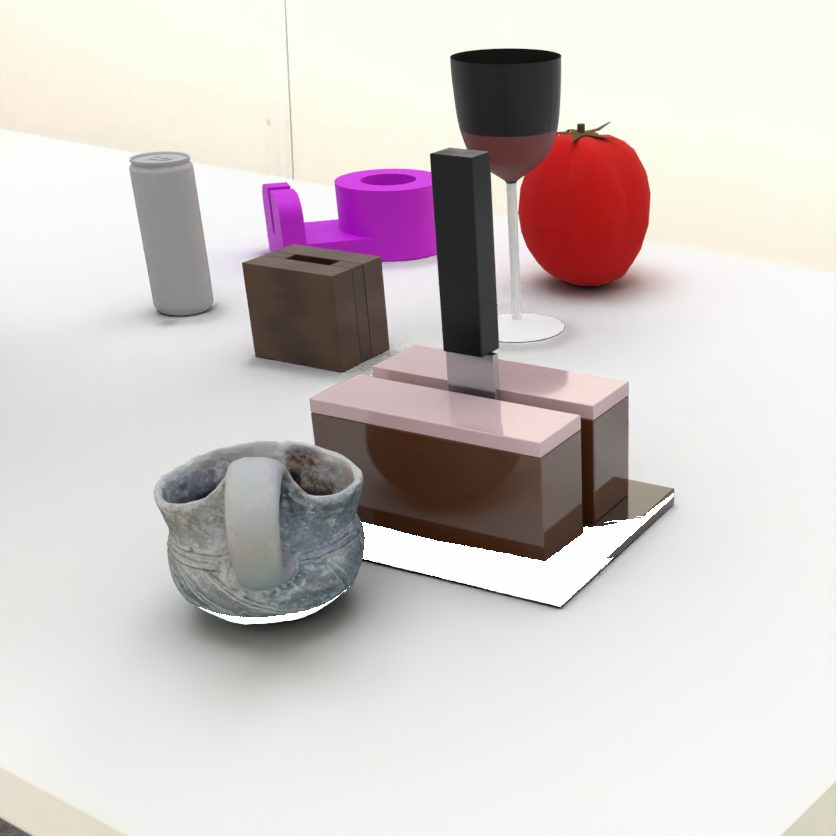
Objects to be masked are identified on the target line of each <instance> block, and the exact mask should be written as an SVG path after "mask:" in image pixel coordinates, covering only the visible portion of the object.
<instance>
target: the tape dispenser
mask: <svg viewBox="0 0 836 836" xmlns="http://www.w3.org/2000/svg"><path fill="white" fill-rule="evenodd" d="M261 186H262V187H261V194H262V205H263V212H264V219H265V226H266V232H267V241H268V249H269V250H270V251H271V252H274V251H276V250H279V249H282V248H284V247H287V246H290V245H293V244H297V245H304V246H311V247H318V248H325V249H332V250H339V251H346V252H353V253H360V254H367V255H374V256H381V259H382V262H400V261H411V260H417V259H418V260H419V259H424V258H427V257H432V256H435V255H437V250H436V235H435V221H434V207H433V193H432V178H431V171H428V170H423V169H415V168H414V169H413V168H375V169H365V170H358V171H353V172H347V173H345V174H342V175H339V176H337V177H336V178H335V179H334V191H335V200H336V210H337V219H326V220H317V221H316V220H315V221H314V220H313V221H305V218H304V211H303V207H302V202H301V200H300V196H299V194H298V192H297V191H296V190H295V188H292V187H291V185H290V184H289V183H288V182H287V181H283V182H271V183H263V184H262V185H261Z"/></svg>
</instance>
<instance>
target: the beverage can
mask: <svg viewBox="0 0 836 836" xmlns="http://www.w3.org/2000/svg"><path fill="white" fill-rule="evenodd" d="M129 163H130V164H129V167H128V168H129V170H128V171H129V176H130V182H131V188H132V193H133V198H134V203H135V209H136V215H137V220H138V225H139V231H140V237H141V242H142V248H143V254H144V259H145V265H146V270H147V271H146V272H147V276H148V281H149V287H150V292H151V299H152V303H153V306H154V307H155V308H156V309H157V310H158V311H159V312H160V313H161V314H164V315H168V316H176V317H177V316H178V317H179V316H181V317H182V316H192V315H197V314H201V313H204V312H206V311H208V310H210V309H211V307H212V305H213V303H214V301H215V299H214V292H213V286H212V278H211V272H210V264H209V258H208V252H207V246H206V240H205V232H204V226H203V221H202V220H203V219H202V213H201V207H200V200H199V194H198V189H197V188H198V187H197V182H196V175H195V169H194V168H195V167H194V164H193V162H191V155H190V154H189V153H188V152H181V151H167V150H166V151H165V150H164V151H150V152H143V153H138V154H134V155H131V156H130V157H129Z"/></svg>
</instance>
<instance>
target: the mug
mask: <svg viewBox="0 0 836 836" xmlns="http://www.w3.org/2000/svg"><path fill="white" fill-rule="evenodd" d="M362 485H363V474H362V471H361V470H360V469H359V468H358V467H357V466H356V465H355V464H354V463H352V462H351V461H350V460H349V459H347V458H346V457H344V456H343V455H341V454H339V453H337V452H334V451H330V450H327V449H324V448H321V447H318V446H315V444H311V443H307V442H300V441H294V440H288V439H287V440H284V441H282V442H280V441H277V440H255V441H249V442H243V443H237V444H233V445H230V446H229V445H228V446H224V447H219V448H215V449H213V450H209V451H208V452H205V453H204V454H199V455H197V456H194V457H192V458H190V459H189V460H187V461H186V462H185V463H183V464H181V465H179V466H176V467H175V468H173V469H172V470H170V471H169V472H166V473H165V474H163V475H161V476H160V478H159V479H158V481H157V482H156V483H155V485H154V489H153V497H154V501H155V504H156V507H157V509H158V510H159V512H160V514H161V516H162V518H163V520H164V523H165V524H166V526H167V528H168V537H167V541H166V547H167V549H166V553H167V562H168V566H169V572H170V575H171V578H172V581H173V583H174V584H175V587H176V589H177V590H178V592H179V593H180V595H181V596H182V597H183V599H185V600H186V601H187V602H188V603H190V604H191V605H192V604H193V605H192V606H194V605H195V606H194V607H196V606H198V607H202V608H204V609H206V610H207V609H208V610H210V611H212V612H216V613H219V614H220V613H221V614H226V615H229V616H230V615H231V616H240V617H241V616H242V617H268V616H276V615H285V614H287V613H297V612H299V611H305V610H309V609H311V608H314V607H318V606H320V605H322V604H325V603H326V602H328V601H330V600H332V599H333V598H335V597H336V596H338V595H340V594H341V593H342V592H343V591H344V590H346V589H347V588H348V587H349V586H351V585H352V586H353V585H354V583H355V581H356V579H357V576H358V574H359V571H360V568H361V565H362V563H363V560H362V558H363V550H364V539H365V537H364V532H363V526H362V523H361V522H360V518H359V516H358V515H357V508H358V504H359V500H360V496H361V490H362ZM352 586H351V587H352Z"/></svg>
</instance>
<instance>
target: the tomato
mask: <svg viewBox="0 0 836 836" xmlns="http://www.w3.org/2000/svg"><path fill="white" fill-rule="evenodd" d="M610 124H611V121H608V122H606V123H603V124H602V125H601V126H599V127H597V128H592V129H587V130H586V123H583V122H582V123H577V124H576V128H575V129H574V128H570V129H567V130H565V131H557V133H556V137H555V141H554V144H553V146H552V149H551V151H550V153H549V154H548V156H547V157H546V158H545V159H544V160H543V162H542V163H540V164H539V165H538V166H537V167H536V168H535V169H533V170H532V171H530V172H529V173H527V174H526V175H524V176H523V177H522V178H523V179H522V181H521V185H520V187H519V188H520V189H519V197H518V206H517V214H518V222H519V226H520V233H521V236H522V238H523V240H524V243H525V246H526V248H527V250H528V251H529V253H530V254H531V255H532V257H533V259H534V260H535V261H536V263H537V264H538V265H539V266H540V267H541V268H542V269H543V270H544V271H545V272H547V274H549V275H550V276H552V277H553V278H554V279H555V280H557V281H558V280H559V281H560V282H561V281H562V282H564V283H568V284H571V285H574V286H581V287H600V286H604V285H607V284H609V283H613V282H615V281H618V280H619V279H622V278H623V277H625V275H626V274H627V272H628V270H629V269H630V268H631V266H633V264H634V262H635V260H636V259H637V257H638V256H639V254H640V252H641V251H642V248H643V245H644V241H645V238H646V234H647V231H648V228H649V225H650V215H651V214H650V211H651V187H650V182H649V178H648V173H647V170H646V168H645V167H644V165H643V163H642V161H641V159H640V157H639V155H638V153H637V151H636V149H635V148H634V147H632V146H631V145H630V144H628V143H627V142H626V141H625V140H623V139H621V138H619V137H616V136H614V135H611V134H599V133H598V131H599V132H600V131H601V130H602V129H604V128H605V127H606V126H608V125H610Z"/></svg>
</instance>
